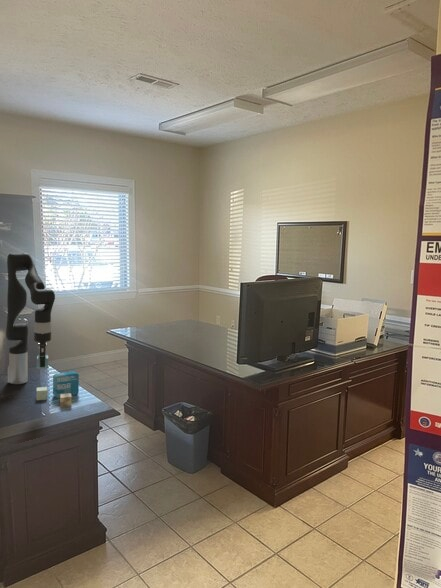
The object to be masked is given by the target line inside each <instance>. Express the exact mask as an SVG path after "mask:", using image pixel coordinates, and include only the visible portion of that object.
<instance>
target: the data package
mask: <svg viewBox="0 0 441 588" xmlns="http://www.w3.org/2000/svg"><path fill="white" fill-rule="evenodd" d="M79 378H80V375H79V373H77V372H76V371H75V370H73V371H64V372H58V373H54V374H53V376H52V394H53V396H54V397H55V399H56V398H57V399H60V394H68V393H71V397H73V396H77V395H78V394H79V392H80V391H79V388H80V384H79V383H80V379H79Z"/></svg>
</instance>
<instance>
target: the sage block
mask: <svg viewBox="0 0 441 588" xmlns="http://www.w3.org/2000/svg"><path fill="white" fill-rule="evenodd" d="M45 400H46V401H47V400H48V386H41V387H40V386H39V387H36V401H45Z"/></svg>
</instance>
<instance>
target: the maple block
mask: <svg viewBox="0 0 441 588" xmlns="http://www.w3.org/2000/svg"><path fill="white" fill-rule="evenodd" d="M59 402H60V403H59V404H60V405H59V406H60V408H68V407H72V396H71V393H68V394H60V398H59Z"/></svg>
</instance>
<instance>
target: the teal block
mask: <svg viewBox="0 0 441 588" xmlns="http://www.w3.org/2000/svg"><path fill="white" fill-rule="evenodd" d="M41 357H44V356H41ZM45 357H46V359H45V367H40V359H39V358H40V355H37V356H36V370H44V369H49V355H48V354H46V355H45Z"/></svg>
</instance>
